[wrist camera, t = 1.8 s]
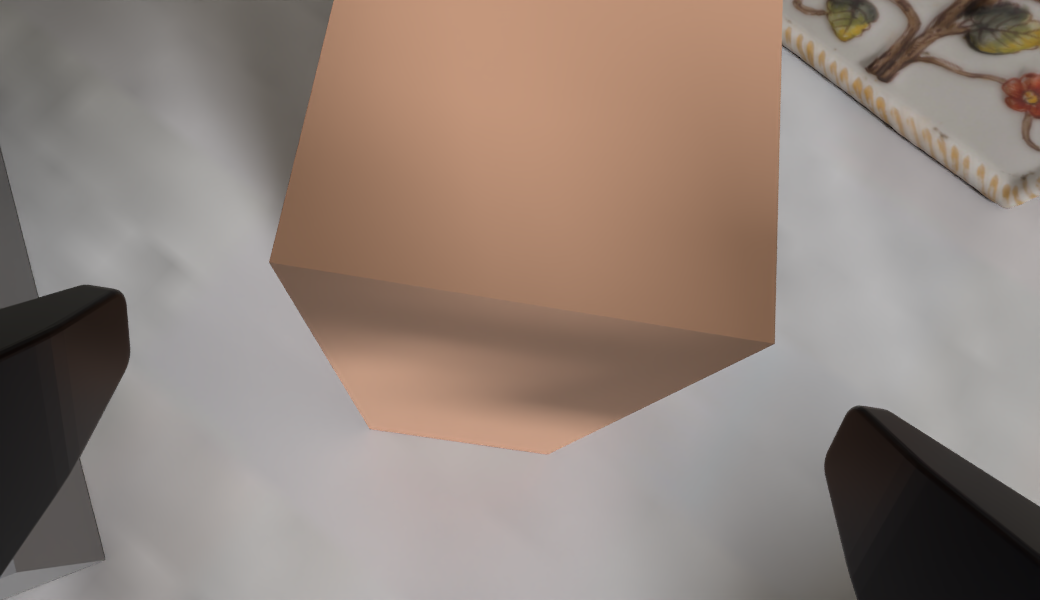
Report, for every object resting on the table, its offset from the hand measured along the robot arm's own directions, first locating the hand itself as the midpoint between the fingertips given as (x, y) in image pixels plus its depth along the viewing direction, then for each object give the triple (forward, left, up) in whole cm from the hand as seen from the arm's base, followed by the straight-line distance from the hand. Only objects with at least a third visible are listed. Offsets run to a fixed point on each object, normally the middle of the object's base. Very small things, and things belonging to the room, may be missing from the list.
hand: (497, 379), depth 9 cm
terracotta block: (+2, -1, -10) cm, 10 cm away
